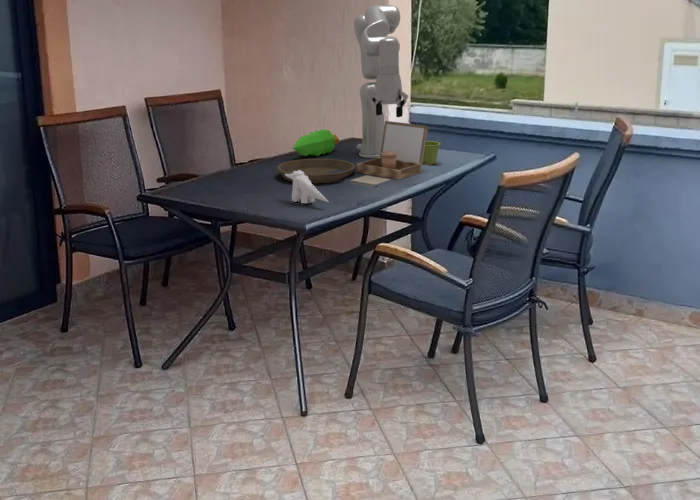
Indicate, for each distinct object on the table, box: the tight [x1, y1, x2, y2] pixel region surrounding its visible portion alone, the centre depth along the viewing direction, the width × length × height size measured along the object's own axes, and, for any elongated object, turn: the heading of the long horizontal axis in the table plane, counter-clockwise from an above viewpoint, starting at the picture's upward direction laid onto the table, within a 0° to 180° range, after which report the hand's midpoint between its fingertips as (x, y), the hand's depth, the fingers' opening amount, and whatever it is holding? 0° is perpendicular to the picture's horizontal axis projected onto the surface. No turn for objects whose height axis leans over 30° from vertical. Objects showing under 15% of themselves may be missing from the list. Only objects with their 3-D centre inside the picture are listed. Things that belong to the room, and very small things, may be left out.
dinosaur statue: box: [285, 170, 330, 204], centre depth 307 cm, size 7×24×11 cm, turn 43°
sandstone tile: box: [350, 174, 392, 188], centre depth 337 cm, size 12×10×1 cm
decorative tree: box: [292, 129, 340, 157], centre depth 383 cm, size 11×12×30 cm
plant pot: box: [420, 140, 441, 166], centre depth 366 cm, size 9×9×9 cm
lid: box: [380, 120, 429, 164], centre depth 352 cm, size 21×15×1 cm
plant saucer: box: [276, 158, 356, 185], centre depth 348 cm, size 31×31×5 cm
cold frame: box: [355, 157, 423, 181], centre depth 348 cm, size 21×15×4 cm
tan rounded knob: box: [381, 151, 397, 169], centre depth 347 cm, size 6×6×8 cm
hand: (389, 115), depth 341 cm, fingers open, 9 cm apart
